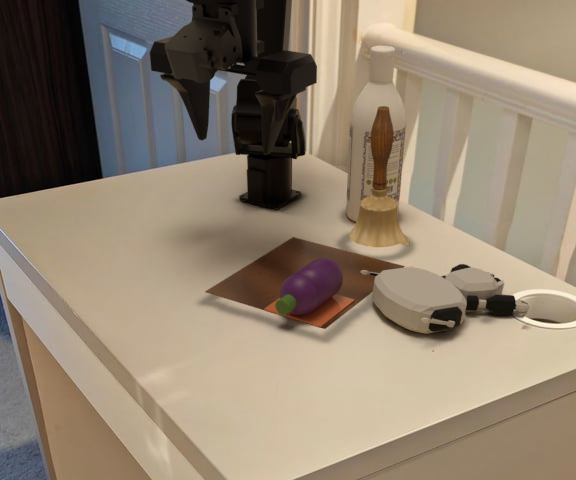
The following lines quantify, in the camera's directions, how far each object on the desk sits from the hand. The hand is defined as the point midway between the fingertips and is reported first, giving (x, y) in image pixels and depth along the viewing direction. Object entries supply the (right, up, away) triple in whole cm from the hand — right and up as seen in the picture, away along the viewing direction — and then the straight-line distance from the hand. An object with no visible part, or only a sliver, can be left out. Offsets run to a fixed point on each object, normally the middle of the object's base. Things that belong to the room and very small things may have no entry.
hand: (234, 146), depth 95 cm
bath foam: (+17, -3, +16) cm, 24 cm away
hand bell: (+17, -9, +8) cm, 21 cm away
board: (+8, -16, -1) cm, 19 cm away
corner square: (+9, -20, -7) cm, 23 cm away
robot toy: (+23, -21, -6) cm, 32 cm away
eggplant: (+8, -20, -7) cm, 23 cm away
